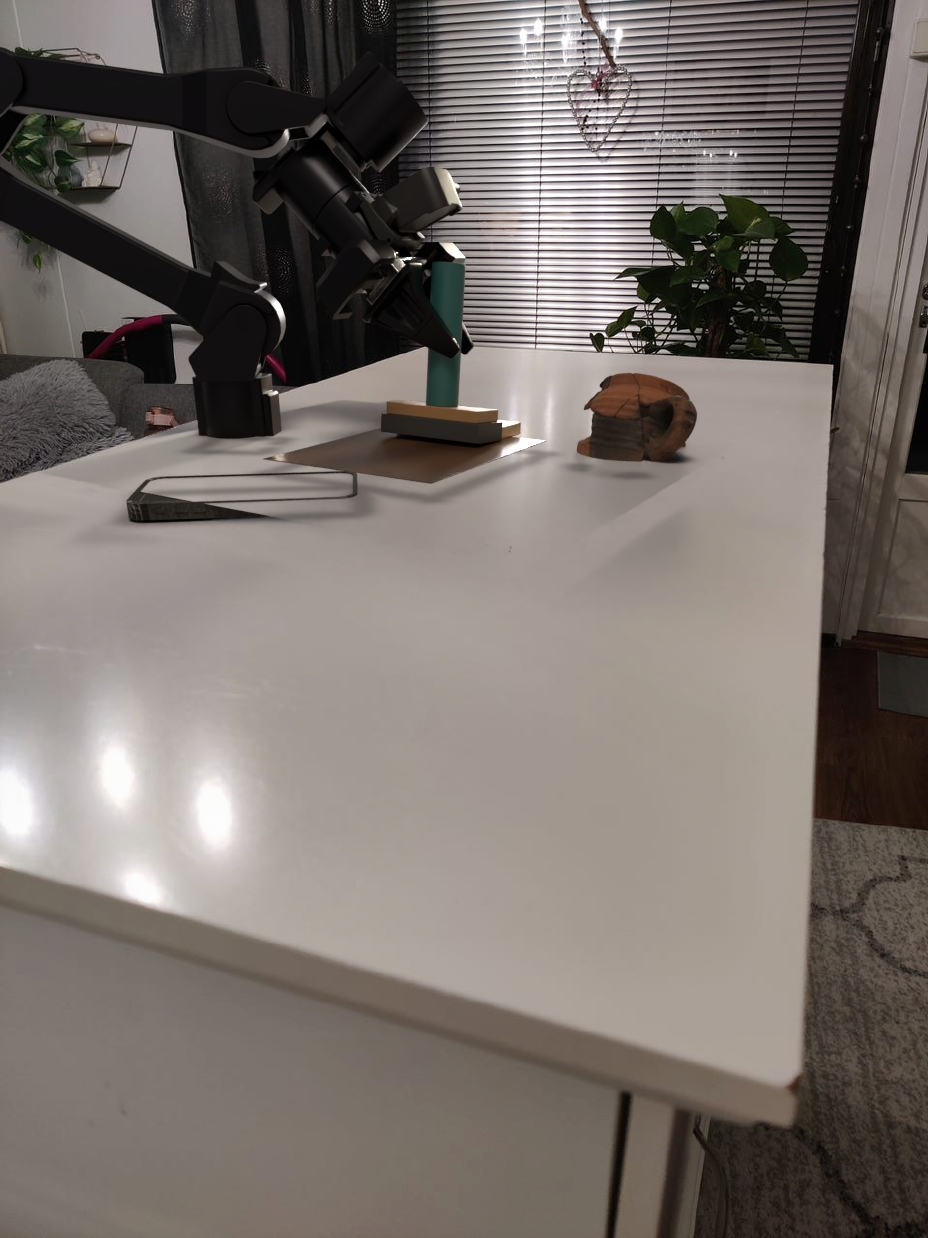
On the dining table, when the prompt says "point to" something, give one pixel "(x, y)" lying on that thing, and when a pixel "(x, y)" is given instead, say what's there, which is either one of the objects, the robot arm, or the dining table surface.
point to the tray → (403, 455)
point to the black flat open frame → (202, 502)
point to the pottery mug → (638, 419)
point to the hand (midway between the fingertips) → (463, 352)
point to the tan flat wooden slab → (510, 428)
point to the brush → (444, 378)
